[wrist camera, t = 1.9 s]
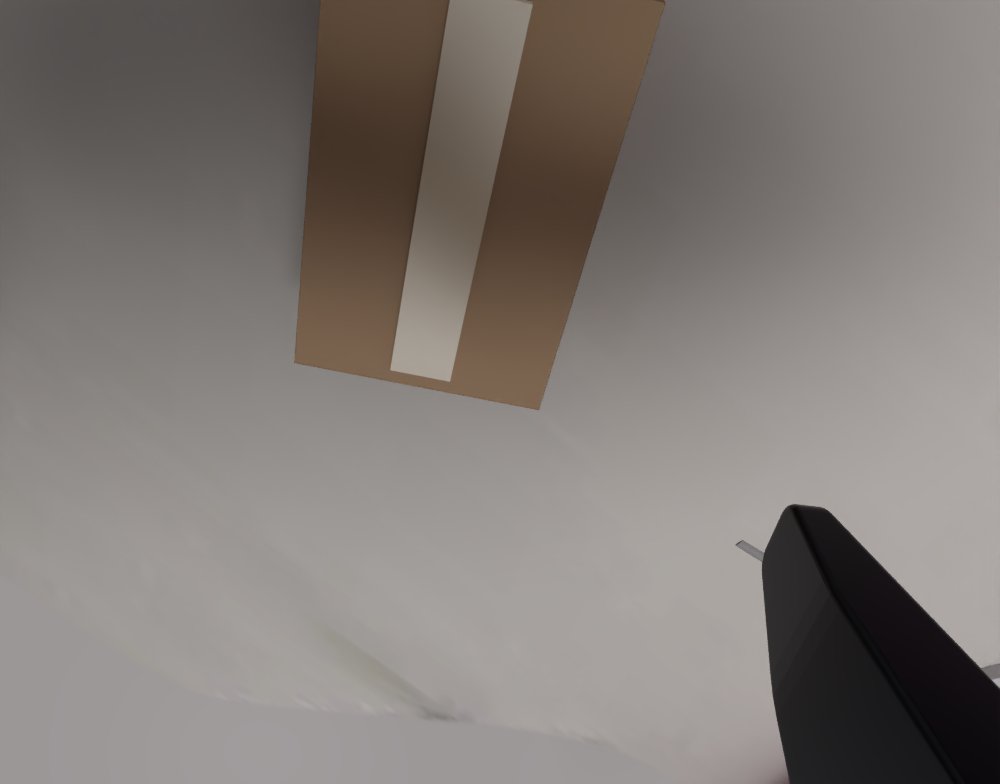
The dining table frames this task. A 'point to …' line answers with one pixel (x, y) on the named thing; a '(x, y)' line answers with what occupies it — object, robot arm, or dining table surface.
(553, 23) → the taped shipping box
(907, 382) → the dining table surface
